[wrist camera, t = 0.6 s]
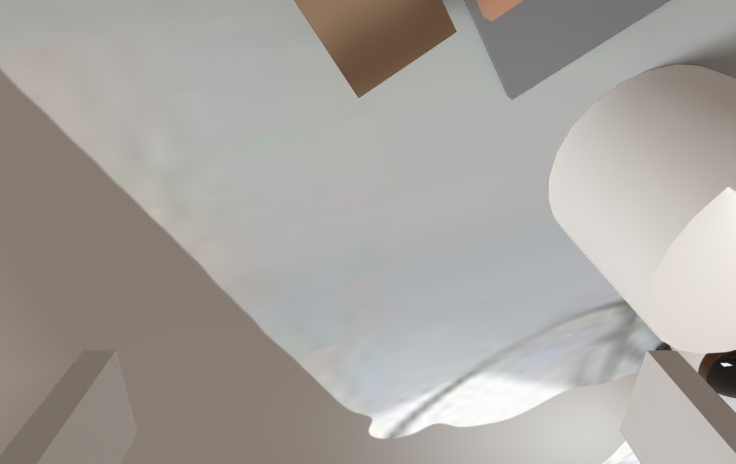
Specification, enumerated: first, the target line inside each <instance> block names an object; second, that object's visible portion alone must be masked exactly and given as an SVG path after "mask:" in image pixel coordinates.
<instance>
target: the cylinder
mask: <svg viewBox="0 0 736 464" xmlns="http://www.w3.org/2000/svg"><path fill="white" fill-rule="evenodd" d="M549 201H550V205H551V209H552V212H553V216H554V218H555V219H556V220H557V222H558V223H559V224H560V226H561V227H562V229H563V230H564V231H565V232H566V233H567V235H568V236H569V237H570V238H571V239H572V240H573V241H574V242H575V244H576V245H577V246H578V247H579V248H580V249H581V250H582V252H583V253H584V254H585V255H586V256H587V257H588V258H589V259H590V261H591V262H592V263H593V264H594V265H595V266H596V267H597V269H598V270H599V271H600V272H601V273H602V274H603V275H604V277H605V278H606V279H607V280H608V281H609V282H610V283H611V284H612V286H613V287H614V288H615V289H616V290H617V291H618V292H619V294H620V295H621V296H622V297H623V298H624V299H625V300H626V301H627V303H628V304H629V305H630V306H631V307H632V308H633V309H634V311H635V312H636V313H637V314H638V315H639V316H640V317H641V318H642V320H643V321H644V322H645V323H646V324H647V325H648V326H649V328H650V329H651V330H652V331H653V332H654V333H655V334H656V335H657V337H658V338H659V339H660V340H661V341H663V342H665V343H667V344H668V345H670V346H672V347H674V348H676V349H677V350H682V351H688V352H693V353H699V354H704V353H719V352H729V351H733V350H736V78H733V77H730V76H727V75H725V74H722V73H719V72H716V71H714V70H711V69H708V68H705V67H703V66H697V65H678V64H674V65H670V66H666V67H661V68H657V69H652V70H648V71H645V72H643V73H641V74H639V75H637V76H635V77H633V78H631V79H629V80H627V81H625V82H623V83H621V84H619V85H617V86H616V87H615V88H613V89H612V90H611V91H610V92H608V93H607V94H606V95H604V96H603V97H602V98H600V99H599V100H598V101H596V102H595V103H594V104H593V105H592V106H591V107H590V108H589V109H588V110H587V111H586V112H585V114H584V115H583V116H582V117H581V118H580V119H579V120H578V121H577V122H576V124H575V125H574V126H573V127H572V128H571V130H570V132H569V134H568V135H567V137H566V139H565V140H564V142H563V144H562V145H561V147H560V149H559V150H558V152H557V155H556V158H555V161H554V164H553V167H552V170H551V174H550V180H549Z"/></svg>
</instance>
